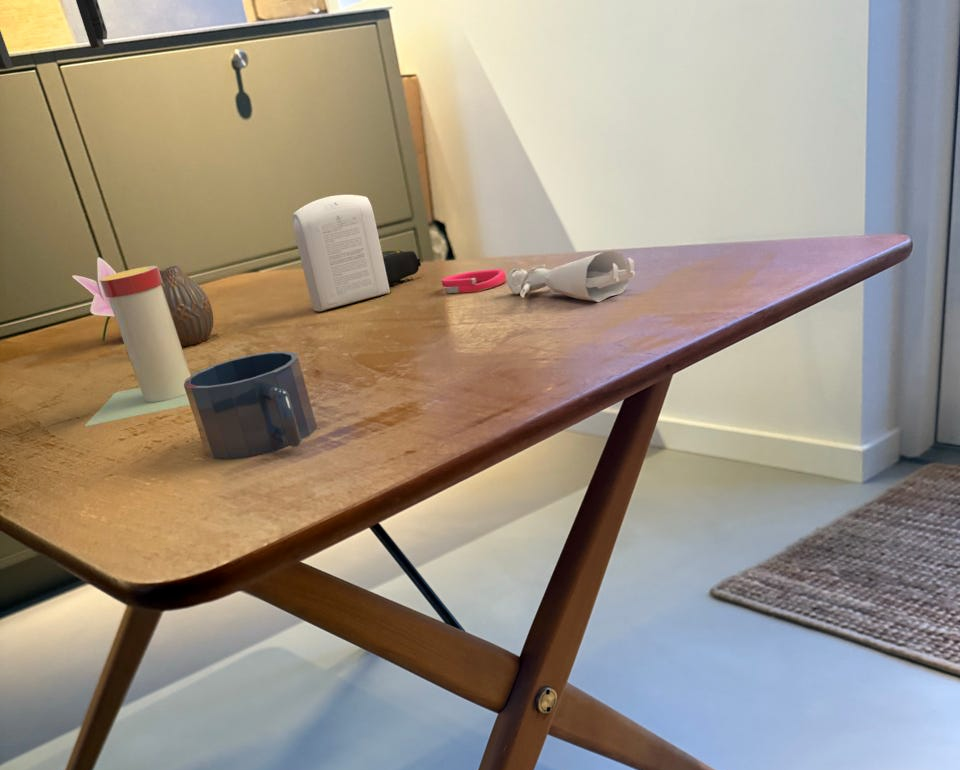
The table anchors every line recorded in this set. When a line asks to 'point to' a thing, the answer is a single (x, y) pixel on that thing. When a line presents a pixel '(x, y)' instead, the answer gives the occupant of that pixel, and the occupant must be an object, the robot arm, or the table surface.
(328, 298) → the white rounded block
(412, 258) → the tape measure
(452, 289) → the fitness band
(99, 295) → the lily
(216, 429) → the mug
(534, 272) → the woman figurine
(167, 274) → the vase
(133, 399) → the sticky note
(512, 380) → the table surface
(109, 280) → the jar
